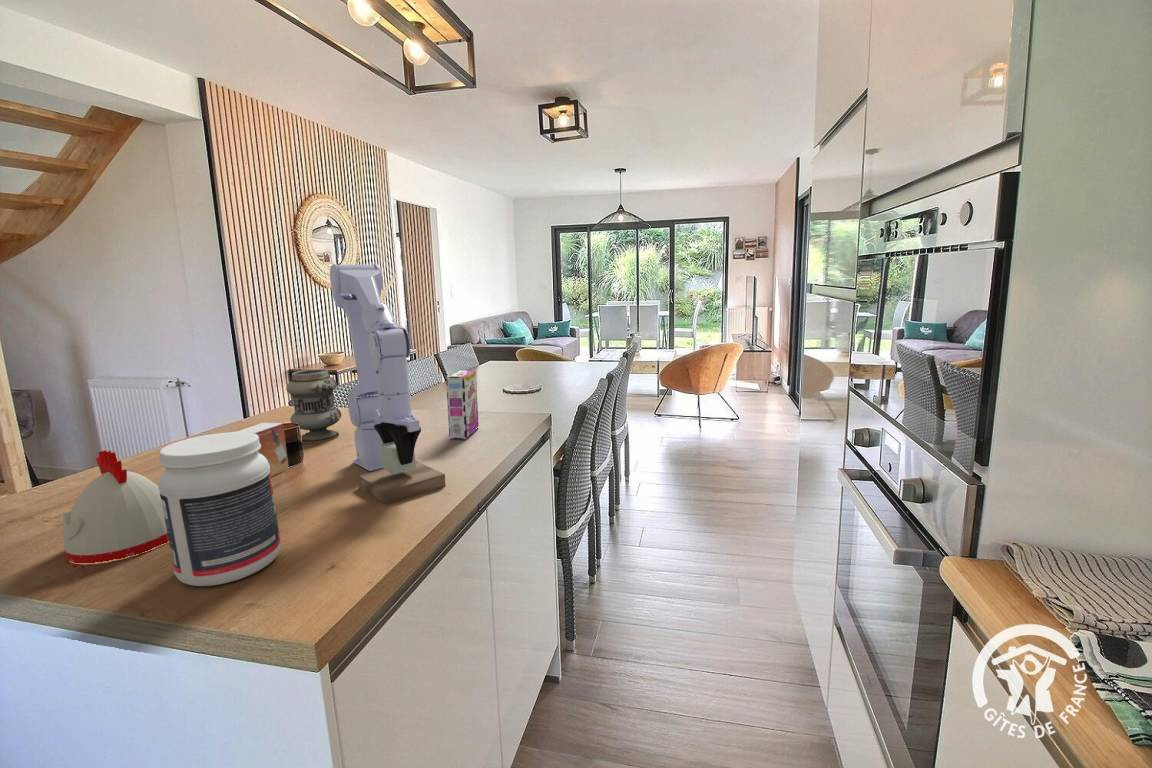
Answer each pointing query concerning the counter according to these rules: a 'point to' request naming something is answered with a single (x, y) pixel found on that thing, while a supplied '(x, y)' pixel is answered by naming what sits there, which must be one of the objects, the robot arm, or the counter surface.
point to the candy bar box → (462, 404)
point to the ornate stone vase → (314, 404)
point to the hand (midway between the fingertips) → (400, 460)
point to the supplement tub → (218, 508)
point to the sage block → (394, 459)
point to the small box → (271, 445)
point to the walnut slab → (401, 483)
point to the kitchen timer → (114, 516)
